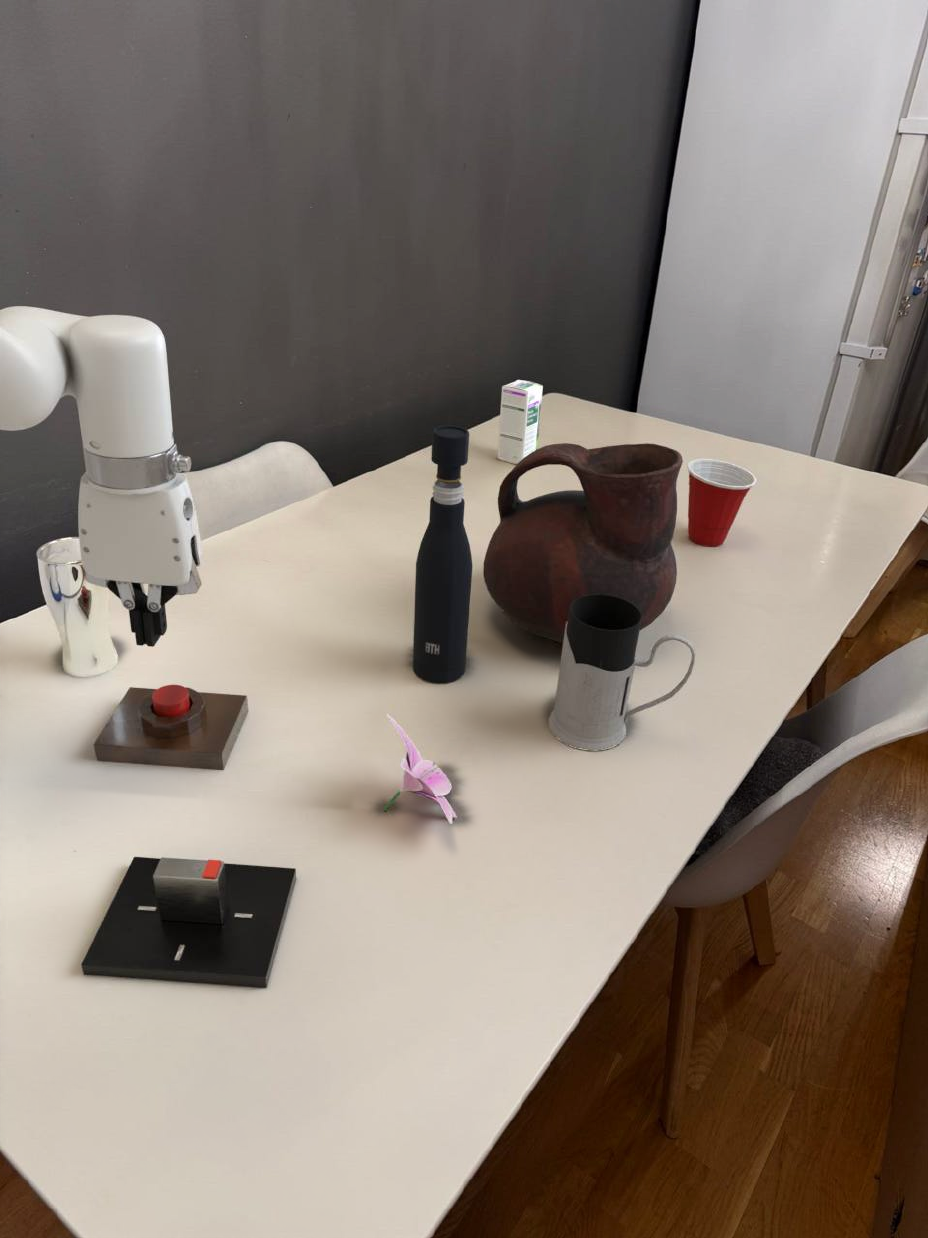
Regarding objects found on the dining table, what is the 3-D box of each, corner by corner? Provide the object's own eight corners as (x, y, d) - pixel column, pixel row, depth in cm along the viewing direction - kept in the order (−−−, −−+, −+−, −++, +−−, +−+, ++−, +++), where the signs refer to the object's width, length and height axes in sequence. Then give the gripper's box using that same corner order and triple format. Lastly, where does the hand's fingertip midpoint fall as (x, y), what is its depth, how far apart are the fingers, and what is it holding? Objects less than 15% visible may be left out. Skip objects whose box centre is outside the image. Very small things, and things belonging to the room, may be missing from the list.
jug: (539, 559, 134) (558, 398, 121) (694, 615, 122) (733, 442, 109) (441, 624, 116) (451, 443, 103) (612, 697, 104) (646, 502, 92)
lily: (438, 885, 80) (490, 801, 77) (324, 822, 79) (373, 735, 77) (451, 826, 91) (497, 751, 89) (352, 771, 91) (395, 694, 89)
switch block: (96, 761, 90) (90, 730, 88) (132, 703, 98) (127, 673, 96) (223, 770, 90) (220, 739, 88) (248, 711, 98) (246, 681, 96)
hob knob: (160, 920, 70) (152, 874, 68) (168, 901, 72) (160, 854, 69) (222, 924, 70) (217, 878, 68) (229, 905, 72) (224, 859, 69)
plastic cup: (739, 559, 138) (756, 488, 132) (669, 546, 141) (683, 475, 135) (743, 532, 147) (759, 464, 141) (678, 520, 150) (691, 453, 144)
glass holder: (556, 696, 104) (572, 584, 96) (678, 723, 101) (704, 610, 93) (540, 740, 97) (556, 623, 89) (671, 770, 93) (698, 652, 86)
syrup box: (522, 466, 167) (529, 390, 160) (495, 459, 170) (501, 384, 163) (536, 458, 172) (544, 384, 164) (510, 451, 174) (517, 378, 167)
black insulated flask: (455, 651, 111) (470, 419, 96) (472, 680, 106) (490, 439, 90) (406, 658, 109) (413, 422, 94) (420, 687, 104) (430, 443, 88)
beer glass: (129, 669, 104) (110, 555, 96) (67, 686, 100) (42, 569, 92) (112, 641, 109) (93, 531, 101) (52, 657, 105) (27, 543, 97)
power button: (149, 717, 91) (146, 703, 90) (160, 696, 94) (158, 683, 93) (183, 719, 91) (182, 706, 90) (194, 699, 94) (192, 685, 93)
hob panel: (86, 986, 68) (80, 963, 66) (137, 876, 77) (133, 855, 76) (267, 999, 68) (265, 977, 66) (297, 888, 77) (295, 866, 76)
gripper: (226, 457, 81) (235, 626, 91) (65, 441, 81) (90, 612, 91) (202, 487, 75) (214, 667, 84) (27, 470, 75) (58, 652, 84)
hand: (150, 638), depth 87 cm, fingers closed
